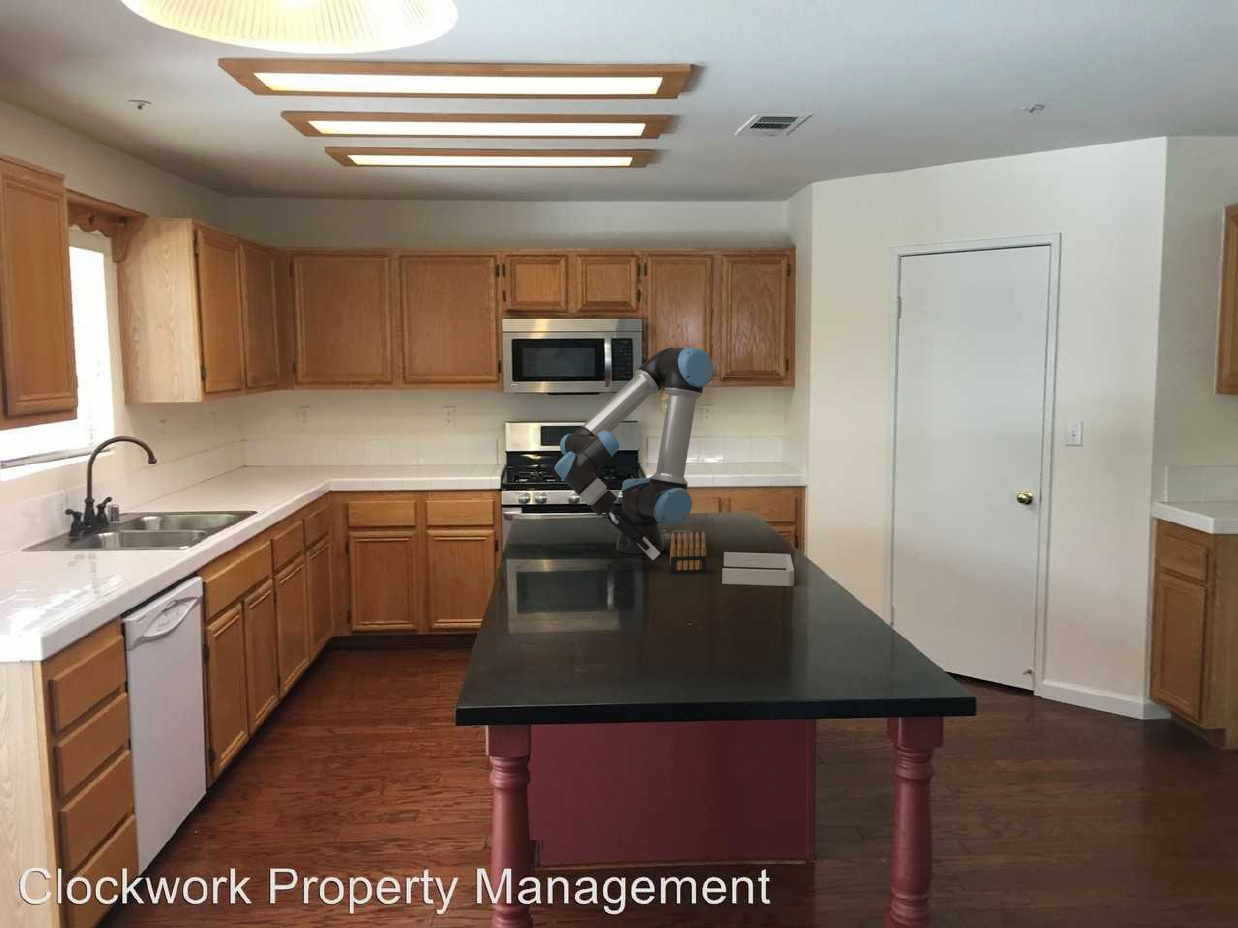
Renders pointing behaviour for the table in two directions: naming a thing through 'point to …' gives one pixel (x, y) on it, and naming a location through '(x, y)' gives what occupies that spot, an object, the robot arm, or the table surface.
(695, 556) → the ammunition clip
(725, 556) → the box
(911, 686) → the table surface
